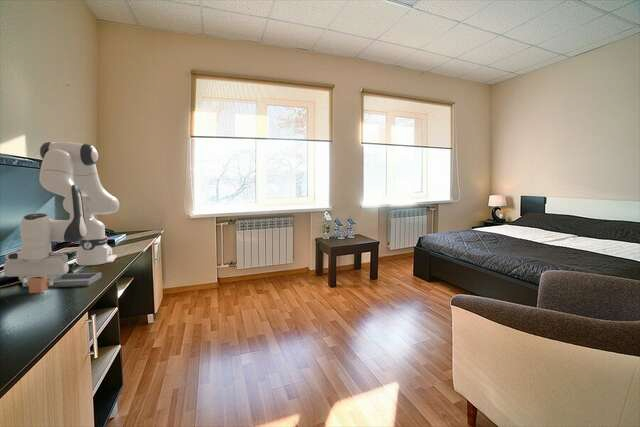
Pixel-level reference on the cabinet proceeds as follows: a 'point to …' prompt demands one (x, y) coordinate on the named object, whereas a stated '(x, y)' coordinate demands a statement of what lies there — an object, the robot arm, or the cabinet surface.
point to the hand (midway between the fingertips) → (38, 285)
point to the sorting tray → (75, 279)
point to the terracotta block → (37, 284)
